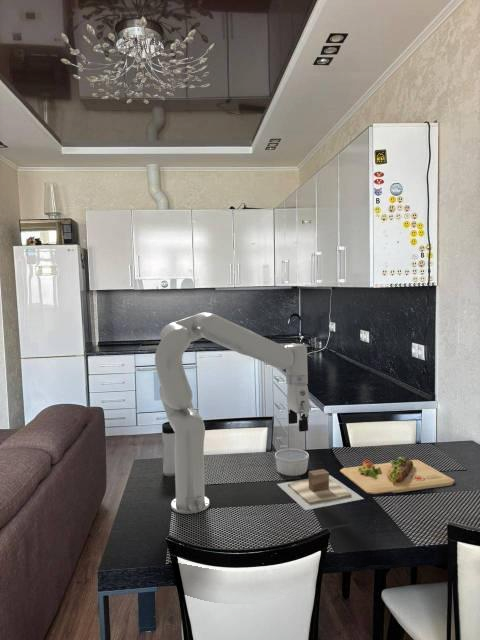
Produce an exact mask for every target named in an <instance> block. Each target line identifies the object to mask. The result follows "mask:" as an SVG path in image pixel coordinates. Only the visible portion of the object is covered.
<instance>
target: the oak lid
mask: <svg viewBox="0 0 480 640" xmlns="http://www.w3.org/2000/svg"><path fill="white" fill-rule="evenodd" d="M329 475H330V472H329V471H327V470H326V469H324V468H321V469H316V470H311V471H310V470H309V471H308V479H309V480H307V481H301V482H295V483H289V484H288V486H289V487H290V488H291V489H292V490H293V491H294V492H295V493H297V494H298V495H299V496H300V497H301V498H302V499H303V500H305V501H306V502H307V503H308V504H309V505H310V504H315V503H320V502H326V501H331V500H336V499H341V498H347V497H351V494H350V493H349V492H348V491H346V490H345V489H343V488H342V487H340V486H339V485H338V484H336V483H335V482H333V481H332V480H331V479H329Z"/></svg>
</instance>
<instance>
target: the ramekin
mask: <svg viewBox="0 0 480 640" xmlns="http://www.w3.org/2000/svg"><path fill="white" fill-rule="evenodd" d="M274 459H275V465H276V470H277V472H278V473H279V474H281V475H285V476H290V477H291V476H293V477H294V476H302V475H304V474H306V472H307V470H308V466H309V459H310V455H309V452H307V451H306V450H303V449H299V448H298V449H297V448H284V449H280V450H278V451H276V452H275V453H274Z"/></svg>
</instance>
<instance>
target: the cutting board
mask: <svg viewBox="0 0 480 640" xmlns="http://www.w3.org/2000/svg"><path fill="white" fill-rule="evenodd" d="M339 472H340V473H342V475H344V476H345V477H346V478H348V479H349V480H350V481H351V482H352V483H354V484H355V485H356V486H357V487H359V488H360V489H361V490H363V491H364V492H365V493H366V494H371V495H378V494H384V493H393V494H396V493H397V494H398V493H405V492H406V493H407V492H410V491H418V490H427V489H433V488H441V487H448V486H452V485H453V484H454V483H455V479H454V478H451V477H450V476H448V475H447V474H445V473H443V472H440V471H438V470H437V469H435V467H432V466H430V465H428V464H426V463H424V462H422V461H421V460H419V459H409V458H407V457H405V456H404V457H402V456H398V459H397V460H390V461H389V462H384V463H376V464H373V462H371V461H370V460H369V459H365V460H363V462H362V465H359V466H351V467H343V468H341V469H340V470H339Z"/></svg>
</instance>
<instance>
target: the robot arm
mask: <svg viewBox="0 0 480 640" xmlns="http://www.w3.org/2000/svg"><path fill="white" fill-rule="evenodd" d="M159 338H160V341H159V344H158V345H157V348H156V351H155V355H154V365H155V369H156V373H157V376H158V380H159V383H160V386H159V395H160V400H161V403H162V406H163V409H164V412H165V414H166V417H167V420H168V422H169V423H170V425H171V427H172V429H173V430H174V432H175V476H174V483H175V484H174V485H175V486H174V487H175V498H174V499H173V500H171V503H170V507H171V510H172V511H174V512H176V513H178V514H184V515H192V514H193V513H194V514H198V513H197V512H199V513H202V512H204V511H206V510H207V509H208V508H209V506H210V499H209V498H208V496H206V495H205V494H206V492H205V491H206V490H205V453H204V452H205V448H204V447H205V434H206V426H205V422H204V420H203V418H202V417H201V415H200V414H199V413H198V412H197V411H196V410H195V408H194V406H193V402H192V401H193V391H192V388H191V385H190V383H189V380H188V376H187V375H186V370H185V367H184V364H183V355H184V353H185V351H187V349H188V348H189V346H190V345H191V343H192V342H195V341H197V340H200V339H202V338H204V339H206V340H208V341H211V342H212V343H215V344H217V345H219V346H222V347H224V348H226V349H228V350H230V351H233V352H235V353H237V354H240V355H243V356H247V357H250V358H253V359H256V360H258V361H261V362H263V363H265V364H266V365H268V366H270V367H273V368H276V369H278V370H285V378H286V379H285V380H286V381H285V383H286V384H287V393H286V394H287V395H286V396H287V397H286V401H287V402H286V403H287V408H288V409H287V412H288V413H287V414H288V415H287V416H288V424H289V425H294V424H298V431H299V432H300V433H301V432H308V431H309V416H310V415H309V413H310V411H311V407H310V406H311V405H310V394H309V393H310V392H309V387H308V384H309V383H308V381H309V379H308V378H309V377H308V375H309V373H308V348H307V345H305V344H303V343H290V344H280V343H277V342H276V341H273V340H271V339H269V338H267V337H265V336H262V335H260V334H258V333H256V332H254V331H252V330H250V329H248V328H245V327H244V326H241V325H238V324H237V323H235V322H233V321H230V320H228V319H226V318H225V317H224V318H223V317H221V316H219V315H217V314H215V313H212V312H211V313H210V312H199V313H197V314H194V315H191V316H188V317H185V318H183V319H180V320H177V321H174V322H170V323H168V324H166V326H165V325H164V327H163V328H162V329H161V331H160V337H159ZM298 418H299V419H298ZM203 510H204V511H203ZM201 511H202V512H201Z"/></svg>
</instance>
